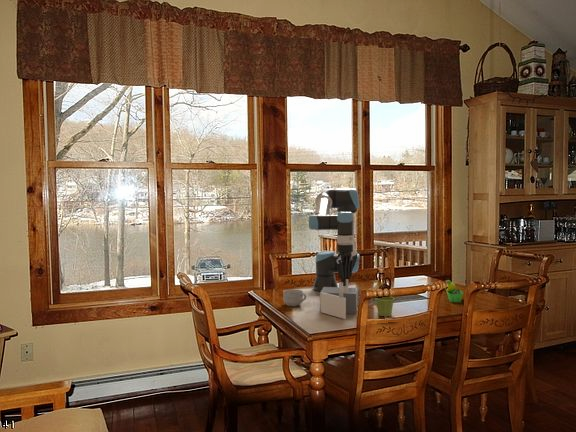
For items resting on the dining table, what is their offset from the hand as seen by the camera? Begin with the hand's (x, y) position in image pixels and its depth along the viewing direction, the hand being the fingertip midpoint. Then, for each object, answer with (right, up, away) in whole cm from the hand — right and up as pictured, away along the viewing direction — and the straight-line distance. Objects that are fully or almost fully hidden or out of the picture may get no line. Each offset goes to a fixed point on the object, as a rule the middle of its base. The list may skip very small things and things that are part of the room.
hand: (345, 292), depth 224 cm
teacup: (-24, -11, +23) cm, 35 cm away
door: (-6, -12, +3) cm, 13 cm away
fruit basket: (+63, -10, +31) cm, 71 cm away
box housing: (-1, -11, +15) cm, 19 cm away
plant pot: (+20, -12, +2) cm, 23 cm away
